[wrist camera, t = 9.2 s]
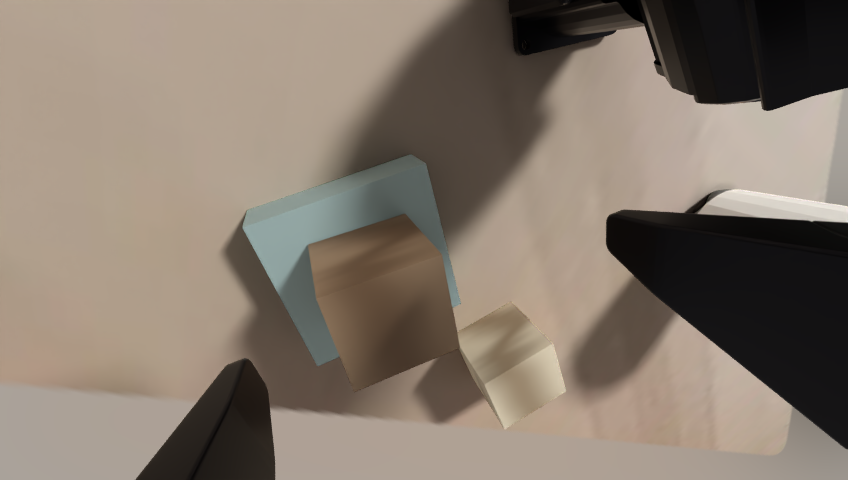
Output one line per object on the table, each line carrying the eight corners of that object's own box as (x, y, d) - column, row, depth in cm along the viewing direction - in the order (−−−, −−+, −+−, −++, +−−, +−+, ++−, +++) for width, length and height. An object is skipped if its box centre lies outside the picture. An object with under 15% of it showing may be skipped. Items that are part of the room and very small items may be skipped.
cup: (644, 235, 29) (862, 331, 18) (737, 146, 29) (1018, 190, 18) (678, 299, 34) (866, 406, 23) (758, 225, 34) (988, 297, 23)
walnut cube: (405, 213, 19) (441, 254, 14) (423, 292, 21) (460, 347, 17) (307, 244, 18) (316, 298, 13) (338, 324, 20) (353, 392, 16)
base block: (408, 152, 21) (426, 163, 18) (442, 280, 25) (461, 303, 22) (248, 206, 19) (242, 227, 16) (313, 334, 23) (317, 366, 21)
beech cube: (510, 300, 27) (553, 343, 23) (525, 345, 30) (566, 391, 25) (452, 334, 27) (484, 384, 22) (471, 377, 29) (504, 429, 25)
